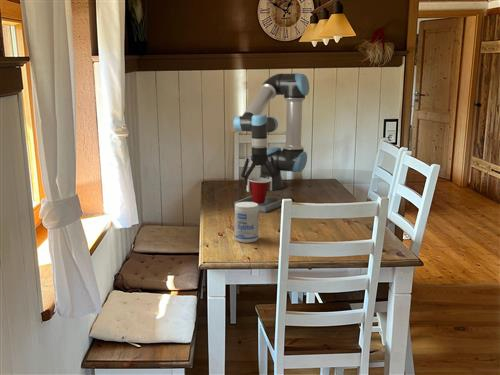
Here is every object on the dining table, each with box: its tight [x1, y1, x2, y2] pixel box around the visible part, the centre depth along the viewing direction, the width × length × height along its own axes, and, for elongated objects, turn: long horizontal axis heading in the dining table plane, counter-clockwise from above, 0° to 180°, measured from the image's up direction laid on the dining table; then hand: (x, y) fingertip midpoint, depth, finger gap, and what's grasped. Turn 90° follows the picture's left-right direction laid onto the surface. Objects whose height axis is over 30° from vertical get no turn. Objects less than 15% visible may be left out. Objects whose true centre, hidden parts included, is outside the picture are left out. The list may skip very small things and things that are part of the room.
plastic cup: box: [248, 176, 270, 204], centre depth 267 cm, size 11×11×12 cm
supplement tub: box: [234, 202, 260, 244], centre depth 215 cm, size 10×10×15 cm
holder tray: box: [233, 195, 283, 214], centre depth 269 cm, size 18×18×3 cm
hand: (259, 190), depth 267 cm, fingers closed on plastic cup, 11 cm apart
